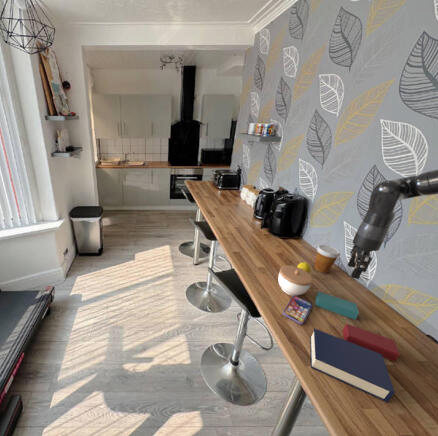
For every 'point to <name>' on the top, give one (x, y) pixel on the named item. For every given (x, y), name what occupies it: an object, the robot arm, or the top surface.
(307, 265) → the lemon
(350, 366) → the big book
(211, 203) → the top surface
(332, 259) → the disposable coffee cup
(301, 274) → the lidded bowl
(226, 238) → the top surface
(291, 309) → the smartphone
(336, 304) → the teal rectangular block
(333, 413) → the top surface
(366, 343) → the red rectangular block
